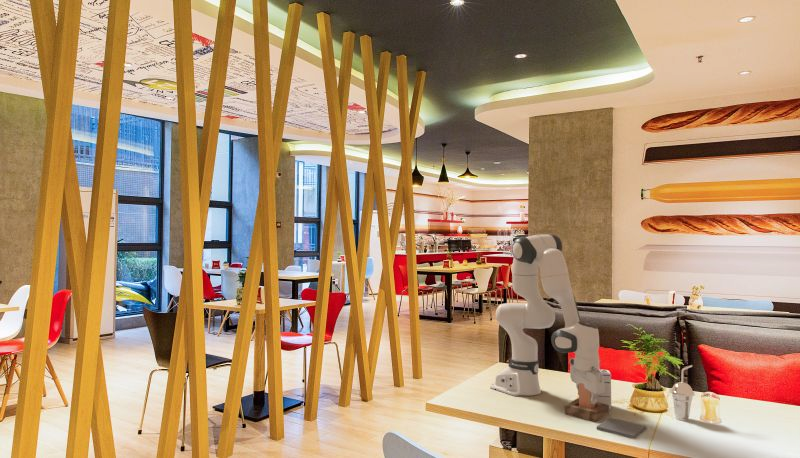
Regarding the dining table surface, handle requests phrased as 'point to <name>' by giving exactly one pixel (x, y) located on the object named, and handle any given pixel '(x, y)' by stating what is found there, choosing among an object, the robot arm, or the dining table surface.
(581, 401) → the terracotta peg
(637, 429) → the slate mat
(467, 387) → the dining table surface
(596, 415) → the socket holder
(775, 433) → the dining table surface
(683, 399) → the cup with straw
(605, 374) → the syrup box
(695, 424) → the dining table surface
